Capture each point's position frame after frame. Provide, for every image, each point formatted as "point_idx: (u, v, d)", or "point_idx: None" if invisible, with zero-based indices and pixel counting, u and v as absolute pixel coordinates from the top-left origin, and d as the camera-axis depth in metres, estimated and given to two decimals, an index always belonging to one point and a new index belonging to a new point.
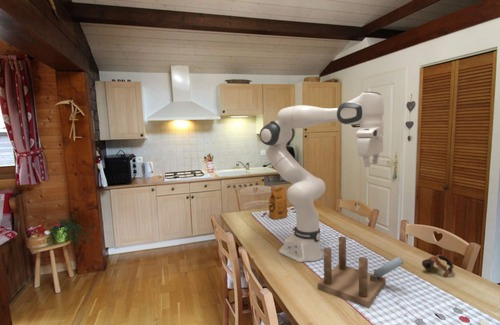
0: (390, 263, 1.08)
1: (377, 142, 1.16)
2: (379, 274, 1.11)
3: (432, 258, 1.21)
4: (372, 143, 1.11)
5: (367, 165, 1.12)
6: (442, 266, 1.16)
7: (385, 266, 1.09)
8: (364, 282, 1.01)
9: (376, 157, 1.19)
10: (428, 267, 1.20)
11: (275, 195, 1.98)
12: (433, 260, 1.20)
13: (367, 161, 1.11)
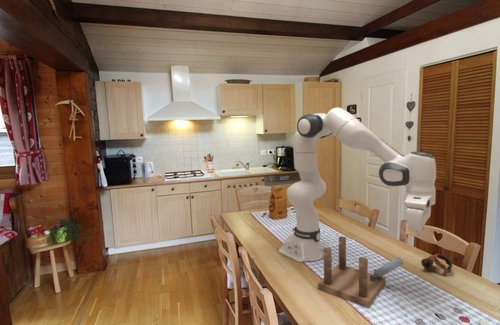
0: (390, 263, 1.08)
1: (426, 208, 1.01)
2: (379, 274, 1.11)
3: (431, 257, 1.22)
4: None
5: (419, 234, 0.99)
6: (441, 265, 1.17)
7: (385, 266, 1.09)
8: (364, 282, 1.01)
9: (421, 227, 1.01)
10: (427, 266, 1.21)
11: (275, 195, 1.98)
12: (432, 259, 1.20)
13: (420, 230, 0.99)
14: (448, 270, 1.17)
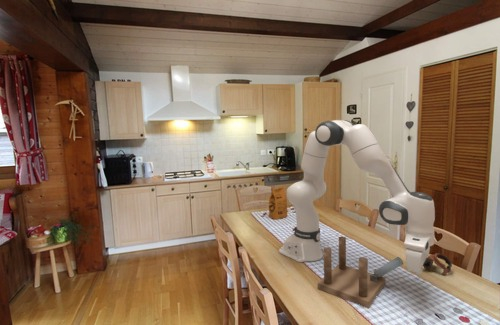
0: (390, 263, 1.08)
1: None
2: (379, 274, 1.11)
3: (431, 257, 1.22)
4: None
5: (418, 273, 1.01)
6: (441, 264, 1.18)
7: (385, 266, 1.09)
8: (364, 282, 1.01)
9: None
10: (427, 266, 1.21)
11: (275, 195, 1.98)
12: (432, 259, 1.21)
13: None
14: (448, 269, 1.18)
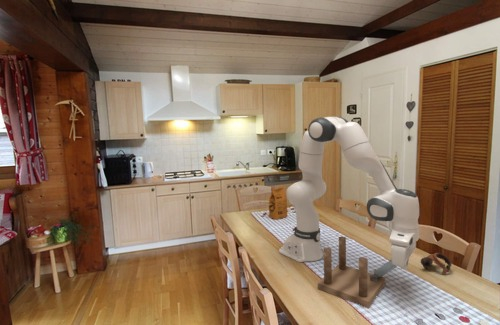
0: (389, 262, 1.08)
1: None
2: (379, 273, 1.11)
3: (430, 256, 1.22)
4: (407, 248, 1.01)
5: (404, 268, 1.04)
6: (440, 264, 1.18)
7: (385, 266, 1.09)
8: (364, 282, 1.01)
9: None
10: (426, 265, 1.22)
11: (275, 195, 1.98)
12: (431, 258, 1.21)
13: (404, 264, 1.04)
14: (447, 269, 1.18)
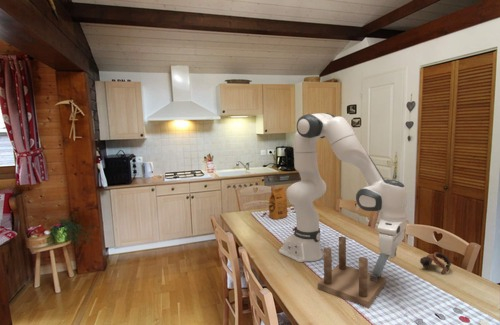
0: (380, 256, 1.10)
1: (399, 232, 1.08)
2: (376, 271, 1.11)
3: (430, 256, 1.23)
4: (394, 237, 1.03)
5: (392, 257, 1.07)
6: (440, 263, 1.19)
7: (378, 261, 1.11)
8: (364, 282, 1.01)
9: (394, 249, 1.08)
10: (426, 265, 1.22)
11: (275, 195, 1.98)
12: (431, 258, 1.22)
13: (392, 253, 1.06)
14: (447, 268, 1.18)
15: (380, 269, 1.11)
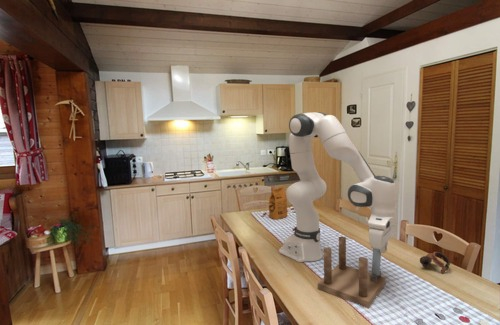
0: (373, 254, 1.12)
1: (389, 227, 1.10)
2: (375, 270, 1.12)
3: (429, 255, 1.23)
4: (384, 232, 1.05)
5: (383, 251, 1.09)
6: (439, 263, 1.19)
7: (373, 260, 1.12)
8: (364, 282, 1.01)
9: (385, 244, 1.10)
10: (426, 264, 1.23)
11: (275, 195, 1.98)
12: (430, 257, 1.22)
13: (383, 248, 1.08)
14: (446, 268, 1.19)
15: (377, 267, 1.11)
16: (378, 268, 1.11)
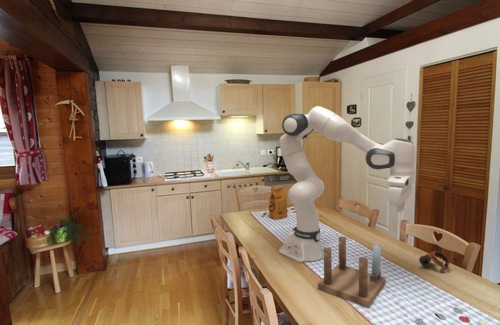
0: (373, 254, 1.12)
1: (407, 188, 1.16)
2: (375, 270, 1.12)
3: (429, 254, 1.24)
4: (403, 191, 1.11)
5: (400, 210, 1.15)
6: (439, 262, 1.20)
7: (373, 260, 1.12)
8: (364, 282, 1.01)
9: (402, 204, 1.16)
10: (425, 263, 1.23)
11: (275, 195, 1.98)
12: (430, 256, 1.23)
13: (400, 206, 1.14)
14: (445, 267, 1.20)
15: (377, 267, 1.11)
16: (378, 268, 1.11)
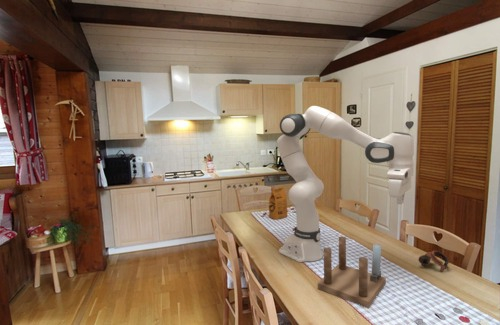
0: (373, 254, 1.12)
1: (406, 181, 1.17)
2: (375, 270, 1.12)
3: (428, 254, 1.25)
4: (402, 183, 1.13)
5: (400, 202, 1.16)
6: (438, 261, 1.20)
7: (373, 260, 1.12)
8: (364, 282, 1.01)
9: (402, 196, 1.18)
10: (425, 263, 1.24)
11: (275, 195, 1.98)
12: (429, 256, 1.23)
13: (400, 199, 1.16)
14: (445, 266, 1.20)
15: (377, 267, 1.11)
16: (378, 268, 1.11)
